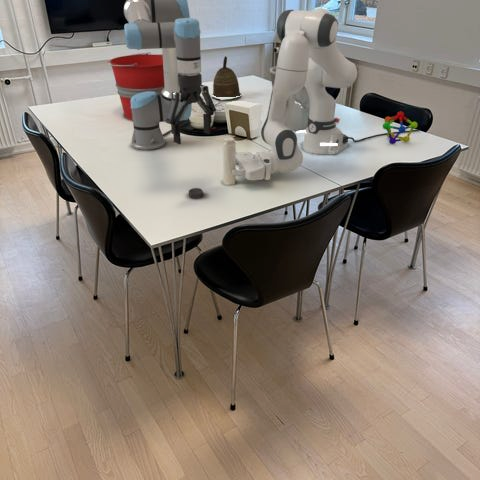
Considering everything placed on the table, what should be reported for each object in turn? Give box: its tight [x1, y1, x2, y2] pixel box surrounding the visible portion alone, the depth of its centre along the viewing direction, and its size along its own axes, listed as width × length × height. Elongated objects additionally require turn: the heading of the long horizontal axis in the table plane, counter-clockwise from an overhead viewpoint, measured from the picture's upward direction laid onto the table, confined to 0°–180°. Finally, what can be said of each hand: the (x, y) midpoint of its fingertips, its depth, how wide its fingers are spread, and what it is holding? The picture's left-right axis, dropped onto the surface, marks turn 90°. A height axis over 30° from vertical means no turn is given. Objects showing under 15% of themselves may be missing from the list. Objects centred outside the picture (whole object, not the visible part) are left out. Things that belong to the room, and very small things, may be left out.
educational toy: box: [382, 110, 418, 145], centre depth 207 cm, size 16×13×15 cm
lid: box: [188, 187, 204, 200], centre depth 161 cm, size 5×5×2 cm
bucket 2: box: [269, 65, 310, 131], centre depth 226 cm, size 30×30×28 cm
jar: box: [222, 136, 237, 186], centre depth 167 cm, size 5×5×18 cm
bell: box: [212, 56, 242, 97], centre depth 278 cm, size 19×26×20 cm
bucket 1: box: [106, 51, 165, 121], centre depth 240 cm, size 35×35×30 cm
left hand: (192, 138), depth 151 cm, fingers open, 13 cm apart
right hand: (228, 167), depth 168 cm, fingers open, 8 cm apart
